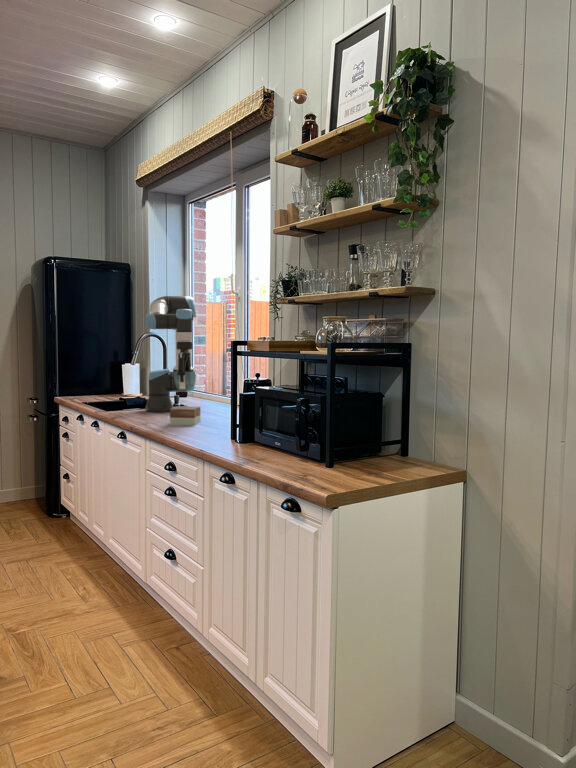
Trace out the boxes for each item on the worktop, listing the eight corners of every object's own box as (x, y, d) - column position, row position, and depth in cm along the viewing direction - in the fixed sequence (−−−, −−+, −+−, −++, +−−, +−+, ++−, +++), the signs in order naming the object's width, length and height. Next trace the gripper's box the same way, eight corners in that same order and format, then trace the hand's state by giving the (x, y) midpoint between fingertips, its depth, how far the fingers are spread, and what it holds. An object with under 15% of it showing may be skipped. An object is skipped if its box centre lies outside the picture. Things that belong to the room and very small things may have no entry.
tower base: (176, 422, 292) (176, 414, 292) (200, 422, 291) (200, 414, 291) (170, 425, 280) (169, 417, 280) (194, 426, 279) (194, 418, 279)
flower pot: (196, 389, 288) (195, 370, 287) (191, 390, 279) (191, 371, 279) (178, 388, 289) (178, 370, 288) (173, 390, 280) (173, 371, 280)
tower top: (176, 414, 292) (176, 406, 291) (200, 414, 291) (200, 406, 290) (169, 417, 280) (169, 409, 280) (194, 418, 279) (194, 409, 279)
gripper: (182, 341, 293) (182, 386, 295) (170, 341, 272) (171, 389, 274) (197, 341, 293) (197, 386, 294) (186, 341, 271) (186, 390, 273)
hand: (184, 387), depth 284 cm, fingers closed on flower pot, 8 cm apart
